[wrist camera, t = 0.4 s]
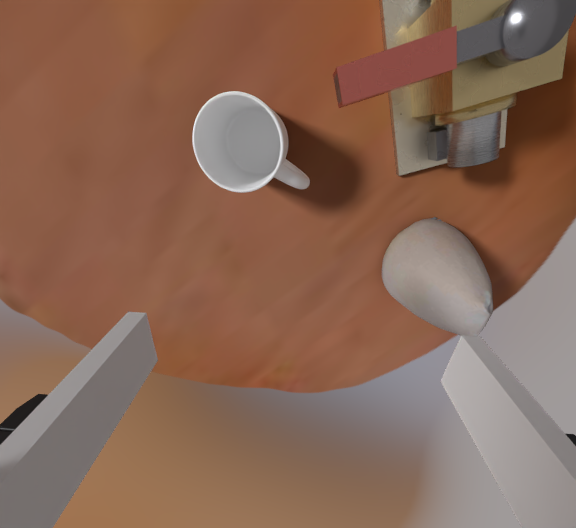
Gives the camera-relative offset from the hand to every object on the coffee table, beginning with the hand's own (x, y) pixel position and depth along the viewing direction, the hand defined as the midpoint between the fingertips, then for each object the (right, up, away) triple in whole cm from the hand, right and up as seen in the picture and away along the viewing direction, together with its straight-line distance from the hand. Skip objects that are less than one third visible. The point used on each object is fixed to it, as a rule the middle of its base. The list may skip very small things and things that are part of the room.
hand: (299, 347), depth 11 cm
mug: (-3, +18, +22) cm, 28 cm away
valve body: (+16, +25, +17) cm, 34 cm away
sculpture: (+19, +4, +27) cm, 34 cm away
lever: (+11, +19, +9) cm, 24 cm away
